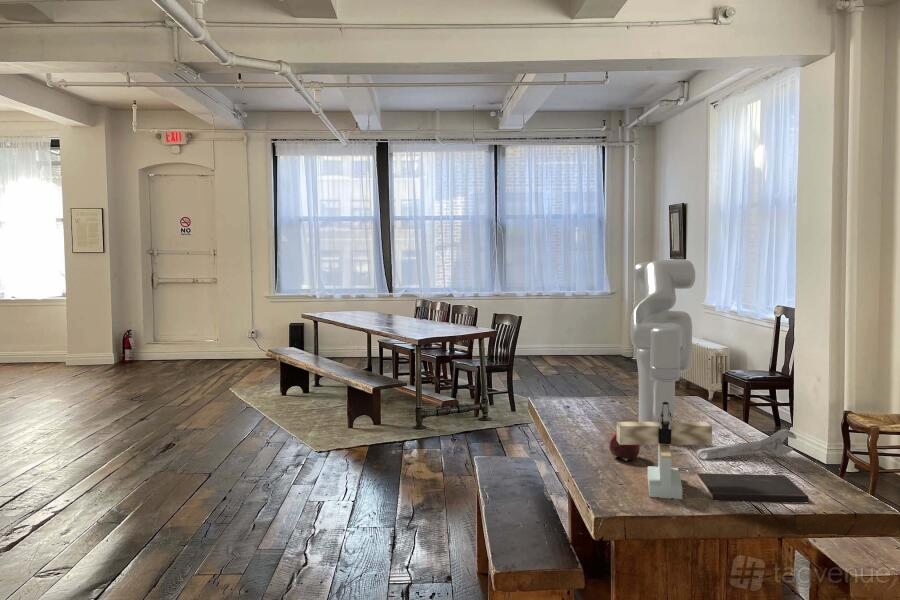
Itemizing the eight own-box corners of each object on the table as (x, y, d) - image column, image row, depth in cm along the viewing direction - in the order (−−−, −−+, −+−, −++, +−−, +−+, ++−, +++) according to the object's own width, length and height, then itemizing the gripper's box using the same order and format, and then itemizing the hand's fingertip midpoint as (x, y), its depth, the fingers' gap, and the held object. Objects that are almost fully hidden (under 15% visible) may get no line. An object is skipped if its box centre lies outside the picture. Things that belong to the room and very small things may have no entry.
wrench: (697, 467, 211) (795, 453, 212) (700, 469, 209) (798, 455, 210) (695, 441, 210) (792, 427, 211) (697, 443, 208) (795, 429, 209)
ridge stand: (647, 476, 194) (647, 437, 193) (677, 478, 192) (678, 439, 191) (649, 496, 179) (649, 454, 178) (682, 499, 177) (682, 456, 176)
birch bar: (706, 439, 188) (706, 421, 188) (711, 444, 184) (712, 425, 184) (616, 439, 189) (616, 421, 189) (619, 444, 185) (619, 426, 185)
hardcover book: (697, 481, 191) (697, 473, 191) (784, 483, 189) (785, 475, 189) (712, 502, 176) (712, 494, 175) (808, 505, 173) (808, 496, 173)
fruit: (626, 465, 205) (626, 431, 204) (602, 457, 212) (602, 425, 212) (647, 459, 210) (647, 426, 209) (623, 452, 217) (623, 420, 217)
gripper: (649, 367, 194) (648, 431, 196) (651, 379, 178) (650, 448, 179) (677, 368, 192) (676, 432, 194) (682, 380, 176) (681, 450, 177)
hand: (664, 439), depth 187 cm, fingers closed on birch bar, 5 cm apart
